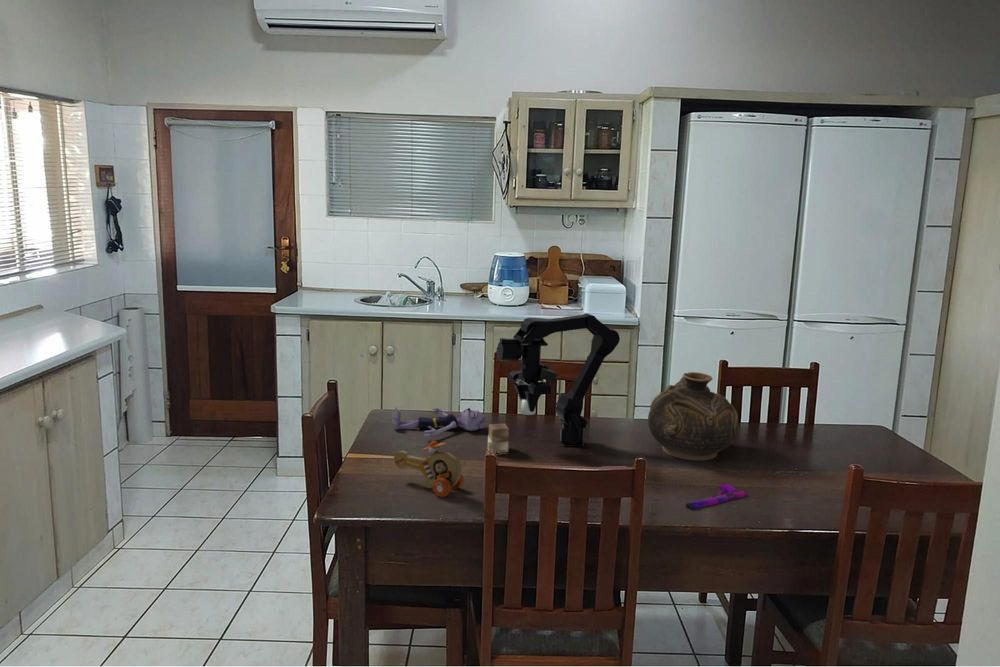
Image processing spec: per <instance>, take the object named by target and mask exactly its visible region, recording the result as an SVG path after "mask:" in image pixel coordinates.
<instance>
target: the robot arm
mask: <svg viewBox="0 0 1000 667" xmlns="http://www.w3.org/2000/svg"><path fill="white" fill-rule="evenodd" d="M583 329H586V330H587V331H589V333H591V335H592V336H593V337H592V339H591V345H590V346H591V348H590V352H589V354H588V356H587V358H586V360H585V362H584V364H583V365H582V367H581V369H580V371H579V373H578V375H577V377H576V379H575V381H574V383H573V385H572V386H571V389H570V390H569V391H567V393H566V394H565V393H563V392H562V393H560V396H559V397H558V400H557V401H556V402H555V405H556V406H555V409H554V410H555V413H556V415H557V416H558V417H559V418H560V421H561V422H562V423H561V425H562V426H561V427H560V430H559V431H560V433H559V435H560V436H559V440H560V443H561V444H562V443H563V444H562V446H563V445H567V446H566V447H569V446H568V445H572V446H571V447H584V446H585V445H584V429H586V427H587V424H588V421H587V420H586V419H585V418H584V416H582V411H583V409H584V400H585V397H586V394H587V393H588V391H589V389H590V387H591V385H592V383H593V382H594V379H595V377H596V376H597V375H598V374H597V373H598V371H599V370H600V367H601V366H602V364H603V362H604V360H605V359H606V357H608V356H609V355H610V354H611V353H613V351H614V350H615V349H616V347H618V345H619V343H620V340H621V338H620V335H619V332H618V331H617V330H614V329H613V328H610V327H608V326H606V324H604V323H602V322H601V321H600V320H599V319H598V318H597V317H596V316H595V315H593V314H591V313H583V314H578V315H571V316H563V317H555V318H549V319H548V318H541V317H526V318H524V319H523V321H522V322H521V324H520V328H519V329H518V330H517V332H516V333H515V334H514V336H512V337H513V338H505V337H500V338H499V342H498V344H497V347H496V357H497V361H499V362H511V361H512V362H515V361H518V366H519V367H520V370H512V371H511V372H509V373H508V381H509V382H511V383H513V382H515V383H513V384H512V385H513V386H514V389H515V391H516V393H517V395H518V398H519V399H520V404H522V399H524V398H527V402H528V406H529V410H530V412H533V411H534V409H535V407H536V406H537V404H538V401H539V399H540V397H541V396H542V395H551V394H552V393H553V386H551V383H552V384H555V382H556V379H557V376H558V373H556V372H555V371H553V370H551V369H549V366H548V365H547V364H544V363H541V354H542V353H541V352H542V347H548V345H549V344H548V342H547V341H545V339H544V338H546V337H548V336H550V335H552V334H555V333H561V332H567V331H568V332H569V331H576V330H583ZM520 359H521V361H519V360H520ZM544 380H545V381H544ZM546 381H548V382H550V384H549V383H548V382H546Z"/></svg>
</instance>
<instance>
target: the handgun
mask: <svg viewBox="0 0 1000 667" xmlns="http://www.w3.org/2000/svg"><path fill="white" fill-rule="evenodd" d="M718 487H719V489H721V490H722V491H719V492H718V494H717V495H713V496H712V497H709V498H705V499H700V500H696V501H691V502H687V503H685V508H686V509H688V510H690V511H691V510H696V509H700V508H705V507H707V506H708V507H709V506H713V505H717V504H718V503H723V502H727V501H730V500H736V499H739V498H745V497H747V493H746V492H745V491H744V490H742V489H736V488H735V487H734V486H732V485H731V484H728V483H721V484H719V485H718Z"/></svg>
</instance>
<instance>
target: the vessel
mask: <svg viewBox="0 0 1000 667" xmlns="http://www.w3.org/2000/svg"><path fill="white" fill-rule="evenodd" d="M711 381H713V377H712V376H711V375H710V374H706V373H702V372H695V371H690V372H685V373H683V374H682V377H681V378H680V379H679V381H678V382H676V383H675V384H669V385H668V386H667V387H666V388H665V390H664V391H661V392H659V394H657V395H656V396H655V397H654V399H653V400H652V401H651V403H650V408H649V411H648V416H647V423H648V424H647V425H648V429H649V430H650V433H651V434H650V435H651V436H652V437H653V438H654V439H655V441H656V442H657V443H659V444H660V446H662V451H663V452H665V454H667V455H669V456H672V457H674V458H676V459H677V458H678V459H681V460H687V461H695V462H696V461H697V462H698V461H699V462H700V461H709V460H712V459H714V458H716V457H717V456H718V453H719V452H722V451H723V450H725V449H726V448H728V447H729V446H730V445H732V443H733V441H734V440H735V438H736V436H737V434H738V432H739V430H740V429H739V428H740V426H739V414H738V411H737V409H736V407H735V406H734V405H733V404H732V403H730V402H729V400H728V399H727V398H726V397H725V396H723V395H722V394H720V393H715V392H713V391H711V389H710V387H709V386H708V384H709V383H710V382H711Z"/></svg>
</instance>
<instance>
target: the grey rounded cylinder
mask: <svg viewBox="0 0 1000 667" xmlns="http://www.w3.org/2000/svg"><path fill="white" fill-rule="evenodd" d="M520 405H521V407H520V408H521V409H520V413H521V414H522V415H524V416H525V415H527V416H533V415H535V414H536V411H537V410H536V407H535V409H534V411H533V412H530V410H529V406H528V402H527V398H524V399H522V403H520Z"/></svg>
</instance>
